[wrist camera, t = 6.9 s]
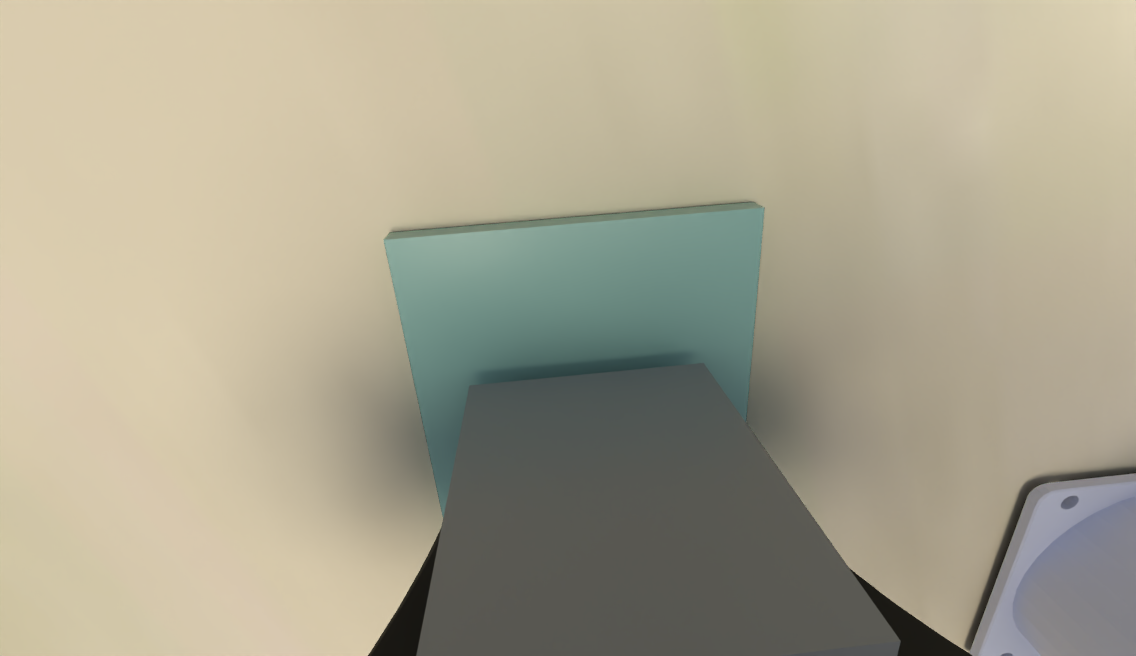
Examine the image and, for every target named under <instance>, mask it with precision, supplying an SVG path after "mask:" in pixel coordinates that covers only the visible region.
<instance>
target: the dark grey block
mask: <svg viewBox="0 0 1136 656" xmlns="http://www.w3.org/2000/svg"><path fill="white" fill-rule="evenodd" d="M900 642H901V641H900V639H899V638H898V637H897V635H896V634H895V632H894V631H893V630H892V628H891V627H890V625H889V624H888V622H887V621H886V620H885V618H884V617H883V615H882V614H881V613H880V611H879V610H878V608H877V607H876V606H875V604H874V603H873V601H872V600H871V598H870V597H869V596H868V594H867V593H866V591H865V590H864V589H863V587H862V586H861V584H860V583H859V582H858V580H857V579H856V577H855V576H854V574H853V573H852V572H851V570H850V569H849V567H848V566H847V565H846V563H845V562H844V560H843V559H842V558H841V556H840V555H839V553H838V552H837V550H836V549H835V548H834V546H833V545H832V543H831V542H830V541H829V539H828V538H827V536H826V535H825V534H824V532H823V531H822V529H821V528H820V526H819V525H818V524H817V522H816V521H815V519H814V518H813V517H812V515H811V514H810V512H809V511H808V510H807V508H806V507H805V505H804V504H803V502H802V501H801V500H800V498H799V497H798V495H797V494H796V493H795V491H794V490H793V488H792V487H791V486H790V484H789V483H788V481H787V480H786V478H785V477H784V476H783V474H782V473H781V471H780V470H779V469H778V467H777V466H776V464H775V463H774V462H773V460H772V459H771V457H770V456H769V454H768V453H767V452H766V450H765V449H764V447H763V446H762V445H761V443H760V442H759V440H758V439H757V438H756V436H755V435H754V433H753V432H752V430H751V429H750V428H749V426H748V425H747V423H746V422H745V421H744V419H743V418H742V416H741V415H740V414H739V412H738V411H737V409H736V408H735V406H734V405H733V404H732V402H731V401H730V399H729V398H728V397H727V395H726V394H725V392H724V391H723V390H722V388H721V387H720V385H719V384H718V382H717V381H716V380H715V378H714V377H713V375H712V374H711V373H710V371H709V370H708V368H707V367H706V366H705V364H704V363H697V364H687V365H677V366H666V367H656V368H646V369H635V370H625V371H614V372H604V373H594V374H583V375H573V376H563V377H552V378H542V379H531V380H521V381H511V382H500V383H490V384H479V385H469V390H468V395H467V400H466V405H465V410H464V415H463V420H462V425H461V431H460V436H459V441H458V446H457V451H456V456H455V461H454V466H453V471H452V476H451V482H450V487H449V492H448V497H447V502H446V507H445V512H444V517H443V522H442V528H441V533H440V538H439V543H438V548H437V553H436V558H435V563H434V568H433V573H432V579H431V584H430V589H429V594H428V599H427V604H426V609H425V614H424V619H423V624H422V630H421V635H420V640H419V645H418V650H417V655H416V656H897V655H898V650H899V646H900Z"/></svg>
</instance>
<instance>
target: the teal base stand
mask: <svg viewBox="0 0 1136 656" xmlns="http://www.w3.org/2000/svg"><path fill="white" fill-rule="evenodd" d="M763 219H764V207H762V206H760V205H758V204H757V203H755V202H747V203H735V204H723V205H711V206H699V207H687V208H675V209H663V210H652V211H640V212H628V213H616V214H604V215H592V216H580V217H568V218H557V219H545V220H533V221H521V222H509V223H497V224H485V225H473V226H462V227H450V228H438V229H426V230H414V231H402V232H390V233H389V234H388V235H387V237H386V238H385V239H384V244H385V249H386V253H387V258H388V263H389V267H390V272H391V277H392V281H393V286H394V291H395V295H396V300H397V305H398V309H399V314H400V319H401V323H402V328H403V333H404V337H405V342H406V347H407V351H408V356H409V361H410V365H411V370H412V375H413V380H414V384H415V389H416V394H417V398H418V403H419V408H420V412H421V417H422V422H423V426H424V431H425V436H426V440H427V445H428V450H429V454H430V459H431V464H432V468H433V473H434V478H435V482H436V487H437V492H438V497H439V501H440V506H441V511H442V515H443V517H444V512H445V507H446V502H447V497H448V492H449V487H450V482H451V476H452V471H453V466H454V461H455V456H456V451H457V446H458V441H459V436H460V431H461V425H462V420H463V415H464V410H465V405H466V400H467V395H468V390H469V385H479V384H490V383H500V382H511V381H521V380H531V379H542V378H552V377H563V376H573V375H583V374H594V373H604V372H614V371H625V370H635V369H646V368H656V367H666V366H677V365H687V364H697V363H704V364H705V366H706V367H707V368H708V370H709V371H710V373H711V374H712V375H713V377H714V378H715V380H716V381H717V382H718V384H719V385H720V387H721V388H722V390H723V391H724V392H725V394H726V395H727V397H728V398H729V399H730V401H731V402H732V404H733V405H734V406H735V408H736V409H737V411H738V412H739V414H740V415H741V416H742V418H743V419H744V421H745V422H746V417H747V406H748V394H749V382H750V371H751V359H752V347H753V336H754V324H755V313H756V301H757V289H758V278H759V266H760V254H761V243H762V231H763Z"/></svg>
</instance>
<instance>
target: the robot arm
mask: <svg viewBox="0 0 1136 656" xmlns="http://www.w3.org/2000/svg"><path fill="white" fill-rule="evenodd" d="M441 528H442V527H441ZM440 533H441V529H440V532H439V534H438V536H437V538H436V540H435V542H434V544H433V546H432V548H431V550H430V552H429V554H428V556H427V558H426V560H425V562H424V564H423V565H422V567H421V569H420V571H419V573H418V575H417V576H416V578H415V580H414V582H413V584H412V585H411V587H410V589H409V591H408V592H407V594H406V596H405V598H404V599H403V601H402V603H401V605H400V606H399V608H398V610H397V611H396V613H395V614H394V616H393V618H392V619H391V621H390V622H389V624H388V625H387V627H386V629H385V630H384V632H383V633H382V635H381V636H380V638H379V640H378V641H377V643H376V644H375V646H374V648H373V649H372V651H371V652H370V654H369V655H368V656H416V655H417V650H418V645H419V640H420V635H421V630H422V624H423V619H424V614H425V609H426V604H427V599H428V594H429V589H430V584H431V579H432V573H433V568H434V563H435V558H436V553H437V548H438V543H439V538H440ZM849 569H850V568H849ZM850 570H851V569H850ZM851 572H852V573H853V574H854V576H855V577H856V579H857V580H858V582H859V583H860V584H861V586H862V587H863V589H864V590H865V591H866V593H867V594H868V596H869V597H870V598H871V600H872V601H873V603H874V604H875V606H876V607H877V608H878V610H879V611H880V613H881V614H882V615H883V617H884V618H885V620H886V621H887V622H888V624H889V625H890V627H891V628H892V630H893V631H894V632H895V634H896V635H897V637H898V638H899V639H900V641H901V642H900V646H899V650H898V655H897V656H1136V473H1134V474H1125V475H1115V476H1106V477H1097V478H1088V479H1079V480H1070V481H1061V482H1052V483H1045V484H1041V485H1039V486H1037V487H1035V488H1034V489H1033V490H1032V491H1031V492H1030V493H1029V495H1028V496H1027V499H1026V501H1025V504H1024V507H1023V510H1022V512H1021V515H1020V518H1019V520H1018V523H1017V526H1016V528H1015V531H1014V534H1013V536H1012V539H1011V542H1010V544H1009V547H1008V550H1007V553H1006V555H1005V558H1004V561H1003V563H1002V566H1001V569H1000V571H999V574H998V577H997V579H996V582H995V585H994V587H993V590H992V593H991V596H990V598H989V601H988V604H987V606H986V609H985V612H984V614H983V617H982V620H981V622H980V625H979V628H978V631H977V633H976V636H975V639H974V641H973V644H972V647H971V649H970V654H969V653H968V652H966V651H964V650H963V649H961V648H960V647H958V646H957V645H955V644H953V643H952V642H950V641H949V640H947V639H946V638H944V637H943V636H941V635H940V634H938V633H937V632H935V631H934V630H932V629H931V628H929V627H928V626H927V625H925V624H924V623H922V622H921V621H919V620H918V619H916V618H915V617H914V616H912V615H911V614H909V613H908V612H906V611H905V610H903V609H902V608H901V607H899V606H898V605H896V604H895V603H894V602H892V601H891V600H890V599H888V598H887V597H886V596H884V595H883V594H882V593H880V592H879V591H878V590H876V589H875V588H874V587H873V586H871V585H870V584H869V583H867V582H866V581H865V580H864V579H862V578H861V577H860V576H858V575H857V574H856V573H855V572H853V571H852V570H851Z"/></svg>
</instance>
